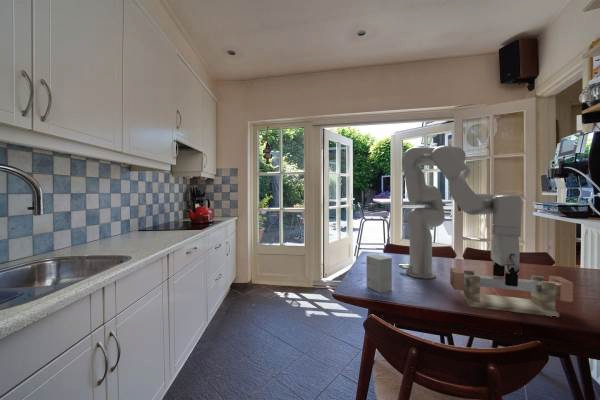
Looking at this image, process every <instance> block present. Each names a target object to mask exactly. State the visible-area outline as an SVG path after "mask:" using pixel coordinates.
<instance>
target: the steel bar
mask: <svg viewBox="0 0 600 400" xmlns="http://www.w3.org/2000/svg"><path fill="white" fill-rule="evenodd" d="M449 270H450V273H449V274H450V277H449V278H450V281H449V283H450V286H451V287H452V288H453V290H455V291H464V285H469V274H464V271H462V270H461V268H459V267H457V268H455V267H450V268H449ZM474 275H475V276H480V288H492V289H500V290H501V289H502V290H513V291H520V292H521V291H523V292H529V293H531V292H540V293H541V287H542V281H537V280H531V279H523V278H518V286H517V287H515V286H507V285H505V277H502V276H491V275H490V276H489V275H481V274H480V275H479V274H474ZM548 279H549V281H544V282H554V283H556V287H555V299H557V300H559V301H560V302H569V303H573V302H574V282H572V281H570V280H568V279H566V278H564V277H562V276H556V275H555V276H554V275H548Z"/></svg>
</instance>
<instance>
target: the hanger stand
mask: <svg viewBox="0 0 600 400" xmlns="http://www.w3.org/2000/svg"><path fill="white" fill-rule="evenodd" d="M463 273H464V274H469V285H464V290H463V291H461V296H462V298H463V299H464V300H465V303H467V304H468V306H469V307H474V308H481V309H490V310H497V311H505V312H513V313H520V314H521V313H522V314H528V315H538V316H544V315H545V316H544V317H546V316H547V317H552V316H556V317H555V318H560V313H559V312H558V311H557V310H556V298H555V287H556V283H554V282H544V278H545V277H544V276H543V275H542V276H540V275H531V277H530V280H537V281H542V287H541V293H540V292H530V299H529V298H521V297H512V296H505V295H495V294H484V293H481V287H480V276H481V275H480V276H475V275H476V274H475V271H474V270H469V269H463Z"/></svg>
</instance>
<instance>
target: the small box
mask: <svg viewBox="0 0 600 400" xmlns="http://www.w3.org/2000/svg"><path fill="white" fill-rule="evenodd" d="M392 260H393V259H392V257H388V256H385V255H382V254H379V253H376V254H368V255H366V287H367V288H369V289H372V290H373V291H376V292H377V293H379V294H382V293H386V292H389V291H390V292H391V291H393V270H392V269H393V266H392V265H393V264H392V263H393V262H392Z"/></svg>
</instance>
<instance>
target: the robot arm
mask: <svg viewBox="0 0 600 400" xmlns="http://www.w3.org/2000/svg"><path fill="white" fill-rule="evenodd" d="M466 156H467V155H466V152H465V150H463V148H461V147H459V146H454V145H453V146H451V145H439V146H437V147H429V146H428V147H427V146H413V147H410V148H408V149H407V150H406V151H405V152H404V154H403V155H402V159H401V167H402V172H403V175H404V180H405V187H406V195H407V199H408V202H409V203H410V204H411V205H413V206H419V205H420V206H424V207H415V208H413V209H411V210H410V211H408V213H407V217H406V218H407V225H408V230H409V262H408V263H406V264H402V263H399V267H398V268H399V269H402V270H406V271H405V273H406V275H408V276H409V277H413V278H416V279H417V278H418V279H426V280H427V279H433V278H436V274H437V273H435V271H433V238H432V233H431V231H430V228H436V227H440V226H441V225H443V223H444V221H445V215H446V214H445V209H444V204H443V199H442V198H443V197H442V193H441V191H440V189H439V188H438V187H436V186H435V185H431V184H427V183H426V179H425V174H424V171H423V170H422V168H420V166H429V167H430V166H431V167H437V169H438V170H439V171H440V173H441V174H442V175H443V176H444V177H445V179H446V180H447V181H448V189H449V194H450V196H451V198H452V199H453V201H454V203H456V205H457V206H458V207H459V209H461V211H463V212H464V213H466V214H467V215H469V216H470V215H471V216H477V215H480V216H481V215H492V228H491V229H492V232H491V234H492V238H491V248H490V250H491V251H490V259H491V260H492V263H493V268H492V275H493V277H503V278H505V285H507V286H515V287H517V286H518V279H519V274H520V273H519V272H520V266H521V264H520V263H521V262H520V238H521V237H522V215H523V214H522V212H523V211H522V210H523V209H522V208H523V198H522V197H521V196H520V195H517V194H494V193H493V194H491V193H475V191H474V190H473V189H472V188H471V187H470V186H469V184H468V182H467V179H468V177H469V176H470V175H471V169H470V167H469V166H468V165H467V164H466V163H465V161H466V158H467V157H466ZM505 271H506V273H505Z"/></svg>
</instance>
